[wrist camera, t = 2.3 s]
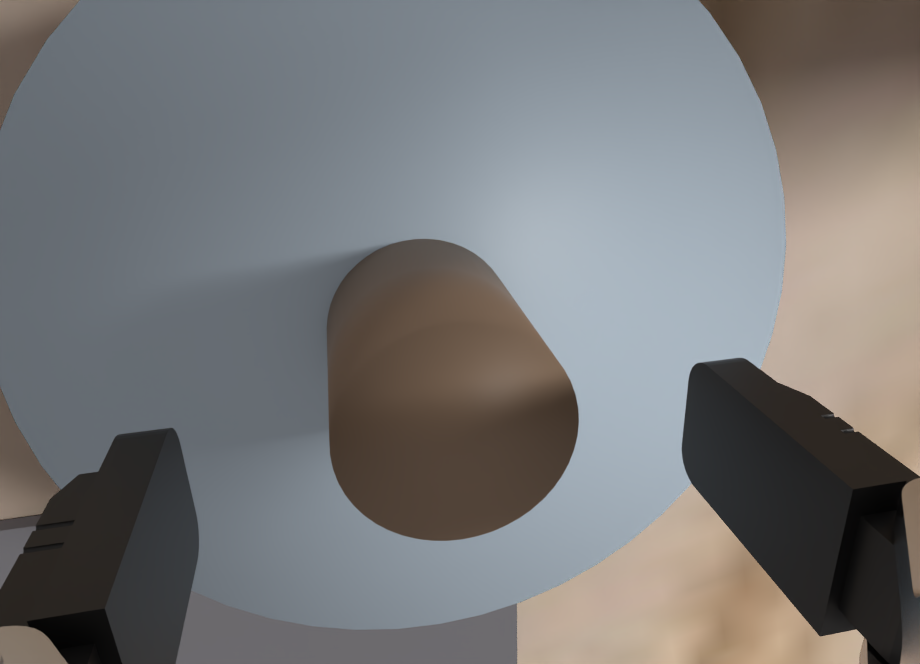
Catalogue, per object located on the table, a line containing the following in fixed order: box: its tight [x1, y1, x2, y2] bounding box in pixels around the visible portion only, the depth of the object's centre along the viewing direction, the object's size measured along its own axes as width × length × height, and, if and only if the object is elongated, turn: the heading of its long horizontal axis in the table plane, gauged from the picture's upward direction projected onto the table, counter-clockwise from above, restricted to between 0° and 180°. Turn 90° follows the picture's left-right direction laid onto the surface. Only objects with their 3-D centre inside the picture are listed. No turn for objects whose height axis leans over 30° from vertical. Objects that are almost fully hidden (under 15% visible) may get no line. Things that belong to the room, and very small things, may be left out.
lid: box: [0, 0, 786, 630], centre depth 14 cm, size 17×17×6 cm
